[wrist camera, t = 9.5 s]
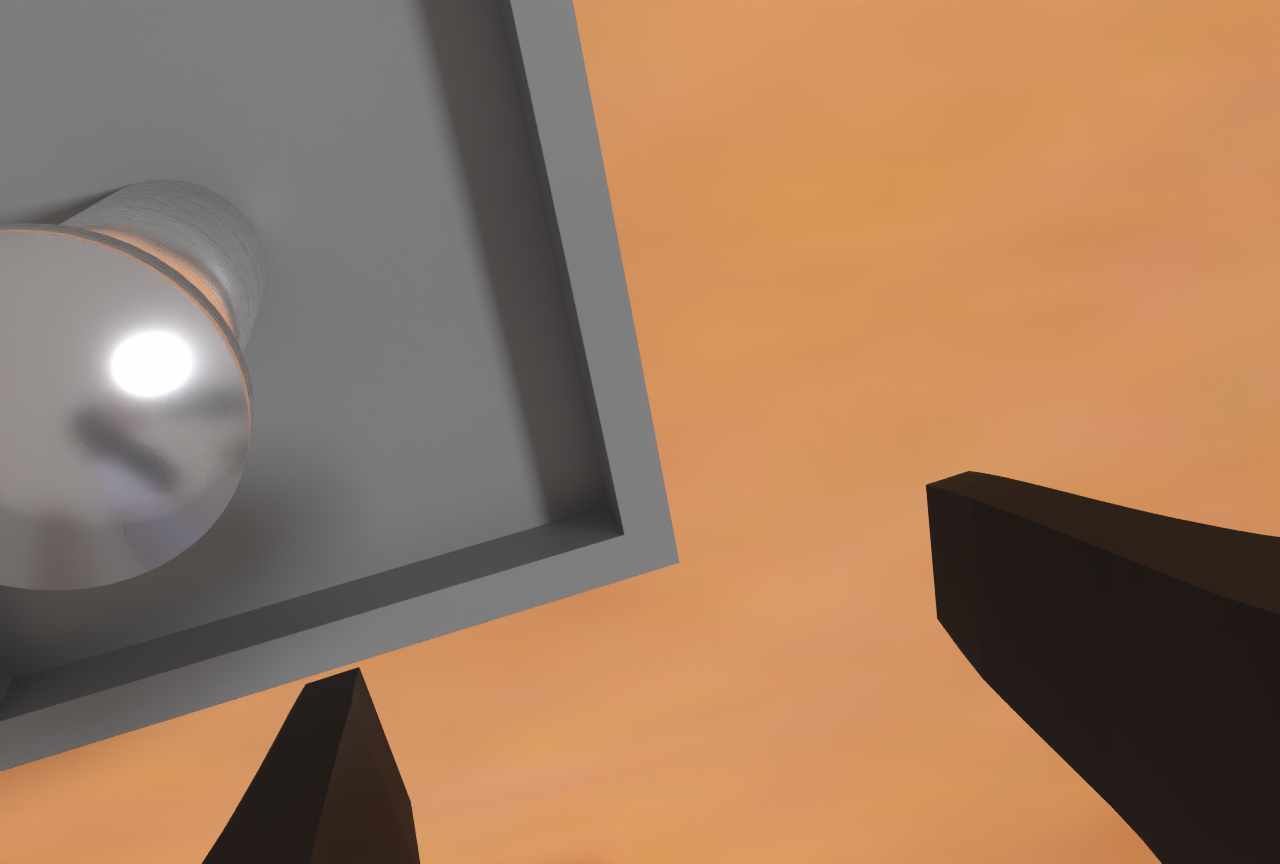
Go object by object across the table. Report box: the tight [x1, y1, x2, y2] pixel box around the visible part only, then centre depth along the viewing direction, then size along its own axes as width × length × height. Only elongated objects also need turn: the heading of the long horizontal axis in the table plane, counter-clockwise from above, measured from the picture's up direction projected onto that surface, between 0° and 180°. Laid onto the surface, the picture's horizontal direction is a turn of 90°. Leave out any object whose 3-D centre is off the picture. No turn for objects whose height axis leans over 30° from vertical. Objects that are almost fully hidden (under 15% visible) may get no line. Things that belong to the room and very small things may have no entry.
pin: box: [0, 179, 267, 591], centre depth 13 cm, size 4×4×8 cm
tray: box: [0, 0, 679, 771], centre depth 17 cm, size 16×14×2 cm
